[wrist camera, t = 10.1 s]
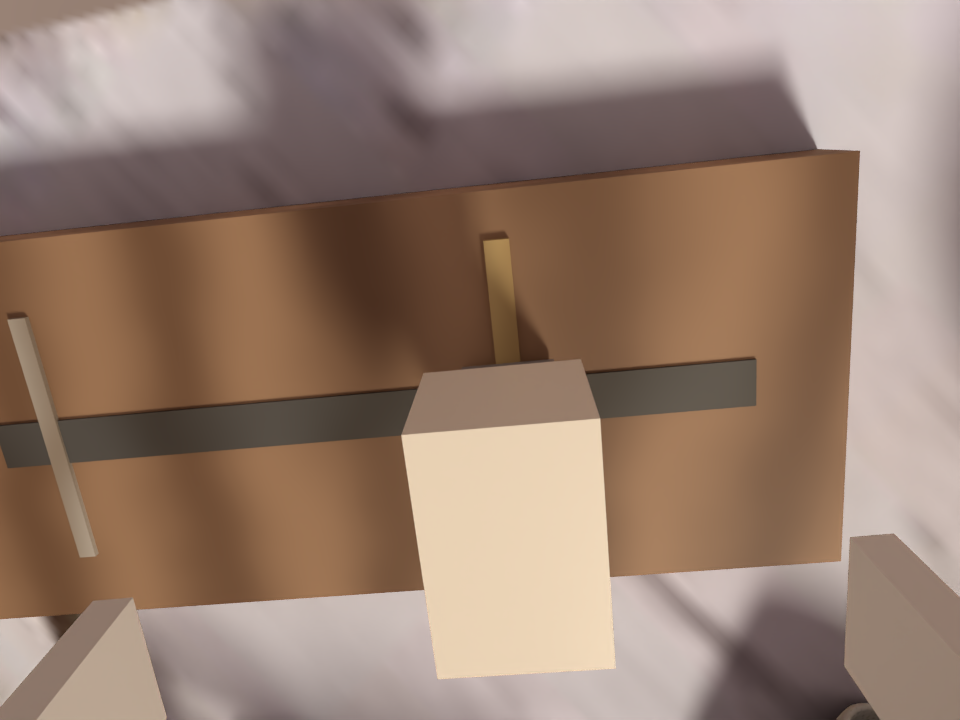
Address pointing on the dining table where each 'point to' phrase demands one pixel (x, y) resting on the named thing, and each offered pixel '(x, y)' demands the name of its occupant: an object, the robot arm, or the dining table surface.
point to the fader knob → (511, 519)
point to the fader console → (420, 376)
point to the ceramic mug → (858, 712)
